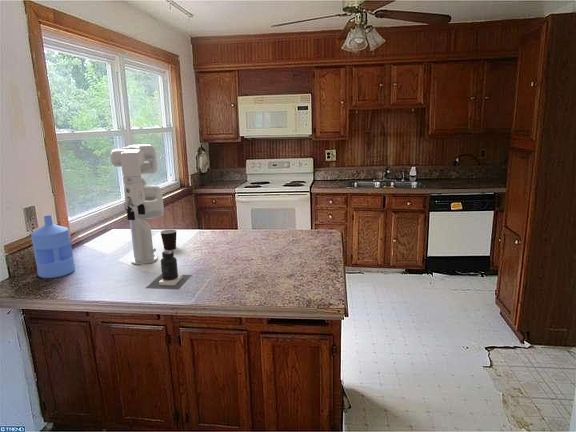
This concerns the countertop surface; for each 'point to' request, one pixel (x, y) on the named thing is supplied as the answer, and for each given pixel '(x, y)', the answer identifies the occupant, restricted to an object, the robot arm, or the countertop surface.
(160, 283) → the block
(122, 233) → the countertop surface
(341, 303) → the countertop surface
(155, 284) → the mat
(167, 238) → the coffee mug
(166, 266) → the supplement bottle
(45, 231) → the water jug
